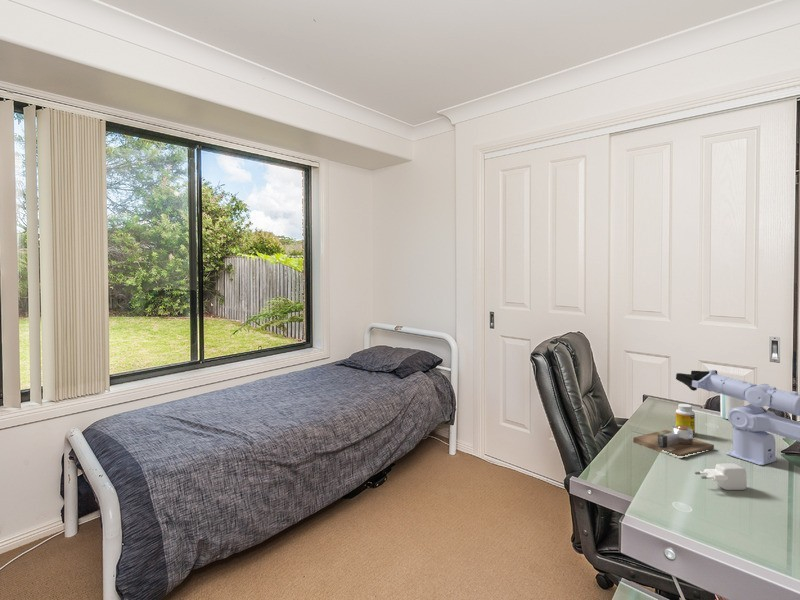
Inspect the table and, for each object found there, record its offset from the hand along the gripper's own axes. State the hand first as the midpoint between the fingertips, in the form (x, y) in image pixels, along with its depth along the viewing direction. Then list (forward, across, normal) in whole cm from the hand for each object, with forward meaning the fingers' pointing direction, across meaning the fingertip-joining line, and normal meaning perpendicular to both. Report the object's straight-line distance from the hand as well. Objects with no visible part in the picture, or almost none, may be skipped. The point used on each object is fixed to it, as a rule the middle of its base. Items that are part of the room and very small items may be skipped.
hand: (684, 374), depth 145 cm
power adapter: (-29, +27, +20) cm, 44 cm away
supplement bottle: (0, -3, +22) cm, 22 cm away
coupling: (-7, +13, +19) cm, 24 cm away
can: (+2, -33, +22) cm, 40 cm away
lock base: (-5, +11, +21) cm, 25 cm away
